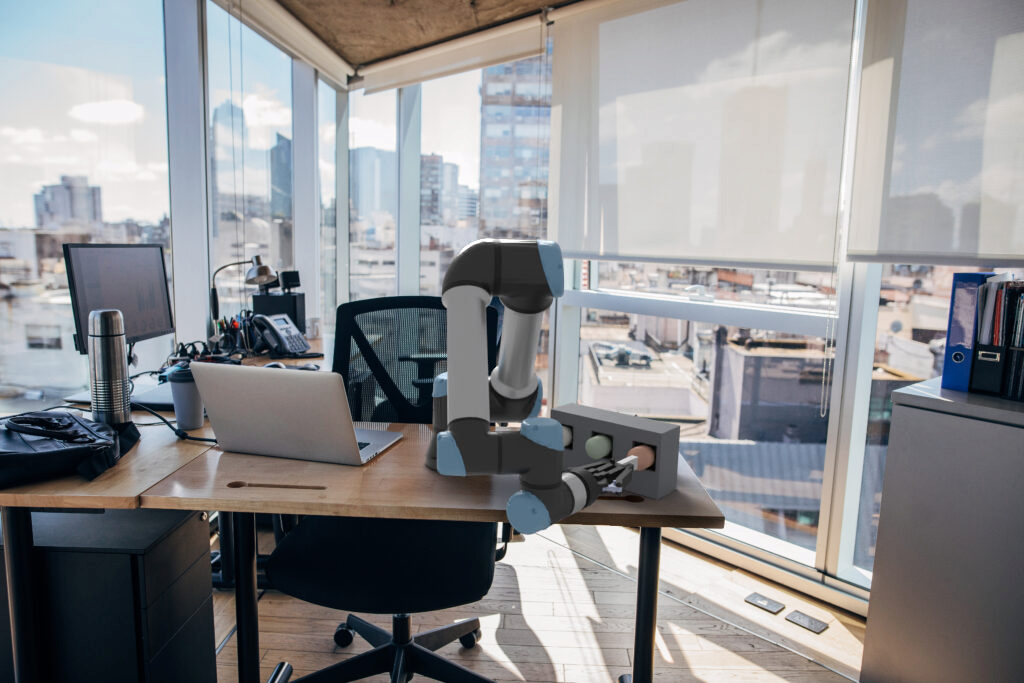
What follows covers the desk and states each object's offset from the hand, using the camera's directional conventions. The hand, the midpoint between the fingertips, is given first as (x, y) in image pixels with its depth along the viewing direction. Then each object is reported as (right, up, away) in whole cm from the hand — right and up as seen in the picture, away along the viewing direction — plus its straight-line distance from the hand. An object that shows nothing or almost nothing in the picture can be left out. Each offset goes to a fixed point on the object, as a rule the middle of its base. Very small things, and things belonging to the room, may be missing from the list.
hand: (634, 462), depth 141 cm
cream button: (-15, 0, +17) cm, 23 cm away
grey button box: (-3, -7, +16) cm, 17 cm away
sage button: (-6, -1, +10) cm, 12 cm away
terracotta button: (+2, -2, +3) cm, 4 cm away
